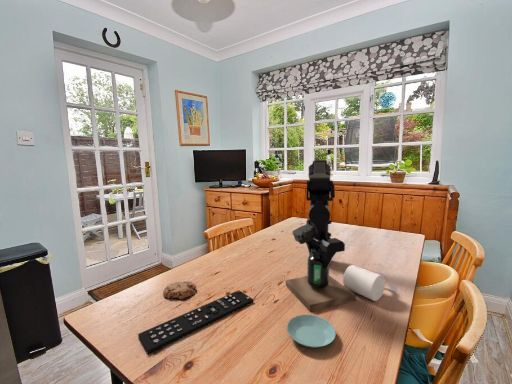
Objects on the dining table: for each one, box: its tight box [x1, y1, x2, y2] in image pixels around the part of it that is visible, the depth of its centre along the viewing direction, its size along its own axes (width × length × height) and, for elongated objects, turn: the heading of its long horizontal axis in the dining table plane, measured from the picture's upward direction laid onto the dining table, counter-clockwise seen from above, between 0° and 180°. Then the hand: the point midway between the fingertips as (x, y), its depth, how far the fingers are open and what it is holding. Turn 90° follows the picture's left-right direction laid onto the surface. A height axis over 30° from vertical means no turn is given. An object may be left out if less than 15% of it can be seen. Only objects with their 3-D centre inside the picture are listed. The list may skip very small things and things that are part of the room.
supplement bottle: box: [306, 246, 330, 288], centre depth 83 cm, size 7×7×12 cm
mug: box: [342, 264, 386, 302], centre depth 84 cm, size 12×10×8 cm
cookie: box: [162, 280, 197, 300], centre depth 86 cm, size 10×11×3 cm
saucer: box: [286, 314, 337, 349], centre depth 64 cm, size 12×12×2 cm
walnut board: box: [285, 274, 356, 312], centre depth 84 cm, size 16×16×2 cm
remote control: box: [137, 290, 254, 355], centre depth 73 cm, size 8×32×2 cm, turn 130°
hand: (318, 263), depth 83 cm, fingers open, 7 cm apart
